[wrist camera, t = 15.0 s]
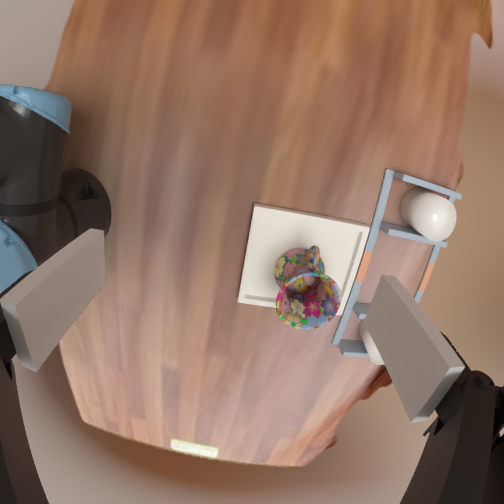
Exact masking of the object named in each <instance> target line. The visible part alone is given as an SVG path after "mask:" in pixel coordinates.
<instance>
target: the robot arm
mask: <svg viewBox="0 0 504 504" xmlns="http://www.w3.org/2000/svg"><path fill="white" fill-rule="evenodd" d="M71 113H72V105H71V102H70V101H69V99H68V98H66V97H64V96H62V95H60V94H56V93H53V92H49V91H45V90H41V89H36V88H30V87H20V86H14V85H7V84H1V85H0V291H1V292H2V293H1V294H0V504H49V503H48V500H47V498H46V495H45V492H44V490H43V487H42V484H41V482H40V479H39V476H38V473H37V470H36V467H35V464H34V461H33V457H32V454H31V450H30V447H29V444H28V439H27V435H26V431H25V427H24V423H23V418H22V413H21V409H20V403H19V398H18V391H17V385H16V378H15V370H14V365H13V362H12V360H11V359H12V358H13V356H14V355H15V354H16V353H17V356H18V359H19V361H20V364H21V365H22V366H24V367H26V368H28V369H31V370H33V371H35V372H37V371H38V370H39V368H40V367H41V365H42V364H43V363H44V361H45V360H46V358H47V357H48V356H49V354H50V353H51V352H52V350H53V349H54V348H55V346H56V345H57V343H58V342H59V341H60V340H61V338H62V337H63V336H64V334H65V333H66V332H67V330H68V329H69V328H70V326H71V325H72V324H73V323H74V321H75V320H76V319H77V318H78V316H79V315H80V314H81V313H82V311H83V310H84V309H85V308H86V306H87V305H88V304H89V303H90V301H91V300H92V299H93V298H94V297H95V295H96V294H97V293H98V292H99V291H100V289H101V288H102V287H103V286H104V285H105V283H106V275H105V253H104V238H105V236H106V234H107V232H108V230H109V226H110V222H111V207H110V202H109V199H108V196H107V193H106V191H105V189H104V188H103V186H102V185H101V183H100V182H99V181H98V180H97V179H96V178H95V177H94V176H93V175H91V174H90V173H88V172H86V171H83V170H79V169H71V170H67V171H63V165H64V158H65V151H66V145H67V139H68V135H70V130H69V125H70V119H71ZM364 323H365V325H366V327H367V329H368V331H369V333H370V335H371V337H372V339H373V341H374V343H375V345H376V347H377V349H378V352H379V354H380V356H381V358H382V360H383V362H384V364H385V366H386V368H387V370H388V372H389V375H390V377H391V379H392V381H393V383H394V385H395V388H396V390H397V392H398V394H399V397H400V399H401V401H402V403H403V405H404V408H405V410H406V412H407V415H408V417H409V419H410V421H411V422H419V421H425V420H427V419H428V418H429V416H430V415H431V414H432V413H433V411H434V410H436V412H437V414H438V417H437V418H436V419H435V421H434V422H433V423H432V424H431V425H430V426H429V428H428V429H427V430H426V431H425V433H424V434H423V435H424V436H426V434H427V433H428V432H430V434H429V436H428V439H427V442H426V445H425V447H424V450H423V453H422V455H421V458H420V460H419V463H418V465H417V468H416V470H415V472H414V475H413V477H412V479H411V481H410V484H409V486H408V488H407V490H406V492H405V494H404V496H403V498H402V500H401V502H400V504H504V434H503V435H502V436H501V437H500V433H499V432H500V431H501V430H502V428H503V427H504V386H503V387H499V386H495V384H494V382H493V381H492V379H491V378H490V377H489V376H487V375H486V374H484V373H483V372H481V371H474V370H473V371H471V370H470V368H469V367H468V365H467V364H466V363H465V361H464V360H463V358H462V357H461V356H460V355H459V353H458V352H456V349H455V347H454V346H453V345H452V344H451V342H450V341H449V339H448V338H447V337H446V336H445V335H444V334H443V333H441V332H440V331H439V330H438V329H437V327H436V326H435V325H434V324H433V322H432V321H431V320H430V318H429V317H428V316H427V315H426V313H425V312H424V311H423V310H422V308H421V307H420V306H419V305H418V303H417V302H416V301H415V300H414V298H413V297H412V296H411V295H410V294H409V292H408V291H407V290H406V289H405V288H404V286H403V285H402V284H401V283H400V282H399V280H398V279H397V278H396V277H395V276H390V275H384V274H382V275H381V278H380V281H379V284H378V286H377V289H376V292H375V295H374V297H373V300H372V302H371V305H370V307H369V310H368V312H367V315H366V317H365V320H364Z"/></svg>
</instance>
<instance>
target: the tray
mask: <svg viewBox="0 0 504 504" xmlns="http://www.w3.org/2000/svg"><path fill="white" fill-rule="evenodd" d="M369 230H370V227H369V226H368V225H366V224H363V223H358V222H354V221H349V220H344V219H339V218H334V217H329V216H324V215H318V214H313V213H308V212H302V211H297V210H291V209H286V208H280V207H274V206H269V205H263V204H257V203H254V209H253V215H252V220H251V226H250V232H249V237H248V243H247V249H246V255H245V260H244V266H243V272H242V278H241V284H240V289H239V295H238V302H239V303H246V304H253V305H260V306H267V307H274V308H276V298H277V295H278V292H279V291H280V289H281V288H280V287H279V285H278V284H277V282H276V280H275V267H276V265H277V263H278V261H279V260H280V258H281V257H282V256H283V255H285V254H286V253H287V252H289V251H292V250H295V249H308V250H309V249H310V247H311V246H314V245H315V246H318V247H319V250H320V258H321V259H322V261H323V263H324V266H325V274H324V275H327V276H329V277H330V278H332V279H333V280H334V281H335V282H336V283H337V285H338V287H339V289H340V292H341V304H340V307H339V310H338V312H337V313H336V315H342V313H343V310H344V307H345V304H346V302H347V299H348V296H349V293H350V290H351V287H352V284H353V281H354V278H355V275H356V272H357V269H358V266H359V263H360V260H361V257H362V253H363V250H364V247H365V244H366V240H367V237H368V233H369ZM313 252H314V251H313Z"/></svg>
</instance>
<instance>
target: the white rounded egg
mask: <svg viewBox="0 0 504 504" xmlns="http://www.w3.org/2000/svg"><path fill="white" fill-rule="evenodd" d="M364 320H365V319H363V320H362V321H361V322H360V324H359V328H358V332H359V335H360V337H361V339H362V341H363V343H364V346H365V348H366V350H367V352H368V355H369V357H370V359H371V361H372V362H373V363H375V364H378V365H383V364H384V362H383V360H382V358H381V356H380V354H379V352H378V349H377V347H376V345H375V343H374V341H373V339H372V337H371V335H370V333H369V331H368V329H367V327H366V325H365V323H364Z"/></svg>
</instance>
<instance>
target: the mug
mask: <svg viewBox="0 0 504 504" xmlns="http://www.w3.org/2000/svg"><path fill="white" fill-rule="evenodd" d="M313 251H314V252H313ZM324 274H325V266H324V263H323V261H322V259H321V258H320V250H319V247H318V246H315V245H314V246H311V247H310V249H309V250H308V249H295V250H292V251H289V252H287V253H286V254H285V255H283V256H282V257H281V258H280V260H279V261H278V263H277V265H276V267H275V280H276V282H277V284H278V285H279V287H280V288H281V289H280V291H279V292H278V295H277V298H276V310H277V313H278V315H279V317H280V318H281V320H282V321H283V322H284V323H286V324H287V325H289V326H291V327H293V328H296V329H302V330H308V329H314V328H318V327H320V326H322V325H324V324H326V323H327V322H329V321H330V320H331V319H332V318H333V317H334V316H335V315H336V313H337V312H338V310H339V307H340V304H341V292H340V289H339V287H338V285H337V283H336V282H335V281H334V280H333V279H332V278H330V277H329V276H327V275H324Z"/></svg>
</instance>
